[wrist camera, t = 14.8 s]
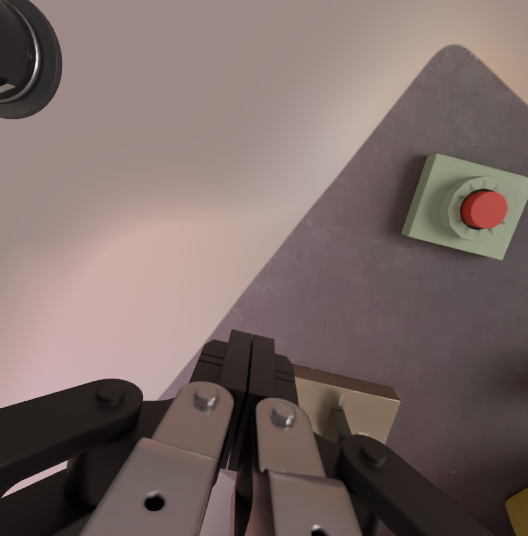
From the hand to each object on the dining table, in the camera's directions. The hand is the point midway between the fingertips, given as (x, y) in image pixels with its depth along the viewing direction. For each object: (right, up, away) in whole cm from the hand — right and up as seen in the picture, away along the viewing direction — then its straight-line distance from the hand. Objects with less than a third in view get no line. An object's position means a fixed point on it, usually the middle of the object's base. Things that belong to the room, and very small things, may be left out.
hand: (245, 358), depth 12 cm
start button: (+23, +9, +24) cm, 34 cm away
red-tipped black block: (+9, -16, +30) cm, 36 cm away
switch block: (+23, +10, +27) cm, 37 cm away
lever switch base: (+9, -16, +33) cm, 38 cm away
